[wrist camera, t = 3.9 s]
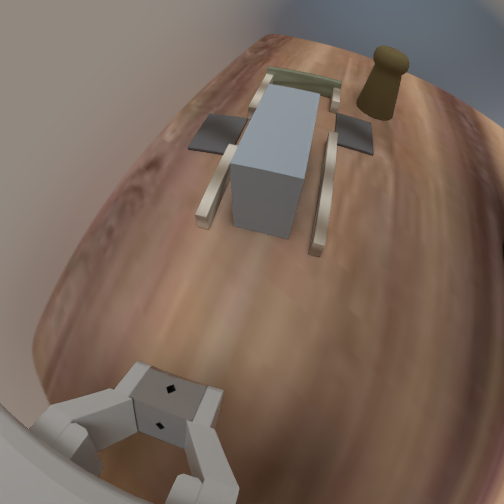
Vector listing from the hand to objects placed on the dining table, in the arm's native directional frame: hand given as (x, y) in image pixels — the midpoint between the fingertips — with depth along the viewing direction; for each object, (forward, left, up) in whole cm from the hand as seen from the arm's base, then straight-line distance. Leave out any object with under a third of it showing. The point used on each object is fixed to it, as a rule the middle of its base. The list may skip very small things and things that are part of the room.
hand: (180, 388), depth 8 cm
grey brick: (-5, -19, -12) cm, 23 cm away
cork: (-22, -36, -12) cm, 44 cm away
